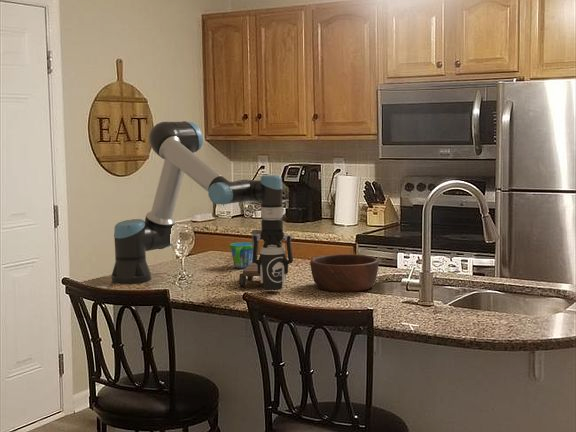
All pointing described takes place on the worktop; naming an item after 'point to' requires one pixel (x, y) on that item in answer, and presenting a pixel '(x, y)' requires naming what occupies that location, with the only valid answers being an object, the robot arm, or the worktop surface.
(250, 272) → the trolley
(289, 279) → the worktop surface
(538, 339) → the worktop surface
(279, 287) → the coffee cup
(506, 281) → the worktop surface
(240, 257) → the snack cup
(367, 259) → the wooden bowl
